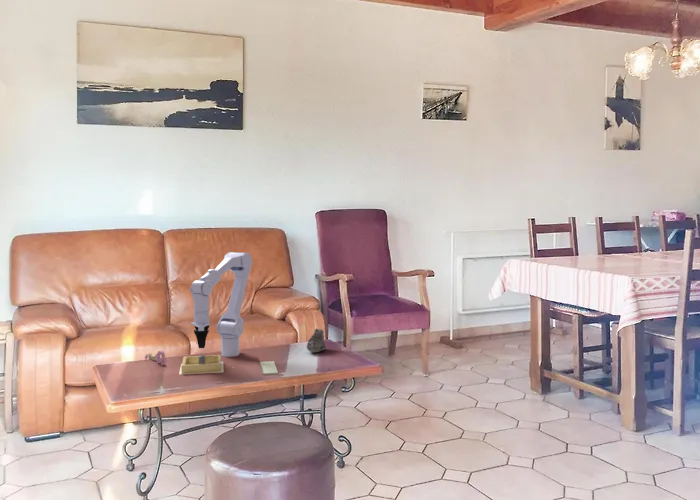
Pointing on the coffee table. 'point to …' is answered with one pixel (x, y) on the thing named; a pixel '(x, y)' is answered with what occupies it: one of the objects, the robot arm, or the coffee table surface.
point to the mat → (268, 368)
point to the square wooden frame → (193, 366)
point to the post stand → (202, 361)
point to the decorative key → (157, 357)
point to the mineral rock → (316, 341)
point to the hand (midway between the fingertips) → (201, 345)
